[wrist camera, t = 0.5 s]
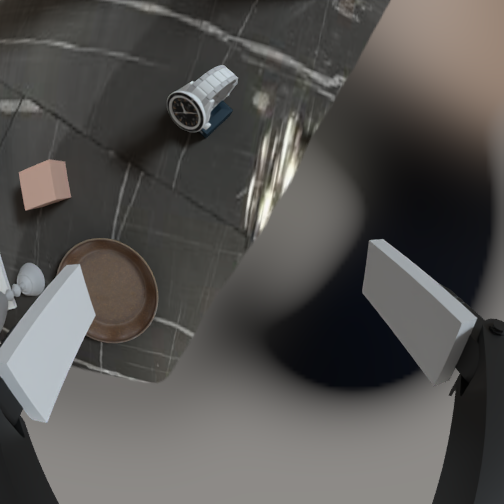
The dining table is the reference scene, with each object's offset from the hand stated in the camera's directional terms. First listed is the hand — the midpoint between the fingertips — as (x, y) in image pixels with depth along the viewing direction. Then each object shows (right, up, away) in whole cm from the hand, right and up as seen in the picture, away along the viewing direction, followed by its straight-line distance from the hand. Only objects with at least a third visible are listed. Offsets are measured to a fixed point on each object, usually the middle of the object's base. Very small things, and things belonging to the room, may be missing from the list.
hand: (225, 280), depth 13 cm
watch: (-5, +19, +22) cm, 30 cm away
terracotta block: (-26, +10, +20) cm, 34 cm away
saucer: (-19, -4, +25) cm, 32 cm away
